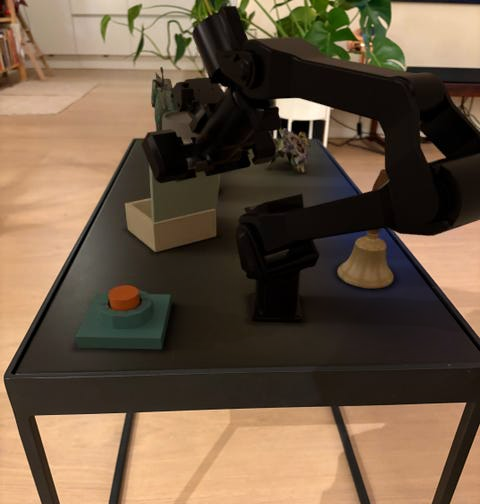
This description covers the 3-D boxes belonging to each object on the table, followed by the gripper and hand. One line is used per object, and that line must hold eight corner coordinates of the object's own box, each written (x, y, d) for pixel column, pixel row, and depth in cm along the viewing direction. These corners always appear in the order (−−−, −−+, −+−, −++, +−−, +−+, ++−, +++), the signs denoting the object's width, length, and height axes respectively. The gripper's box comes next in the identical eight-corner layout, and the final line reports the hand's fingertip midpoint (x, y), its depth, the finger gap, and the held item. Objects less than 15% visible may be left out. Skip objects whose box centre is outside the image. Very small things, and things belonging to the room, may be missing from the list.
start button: (137, 312, 62) (135, 300, 61) (107, 312, 62) (105, 299, 61) (142, 297, 65) (141, 285, 64) (113, 296, 65) (112, 284, 64)
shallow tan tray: (127, 229, 90) (124, 203, 87) (185, 216, 96) (184, 190, 93) (155, 252, 83) (153, 224, 80) (216, 236, 88) (216, 209, 86)
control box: (161, 349, 61) (160, 325, 59) (77, 348, 61) (73, 323, 59) (171, 305, 70) (170, 282, 68) (97, 303, 70) (94, 280, 68)
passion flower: (298, 195, 121) (309, 163, 110) (253, 184, 121) (260, 150, 110) (306, 157, 125) (318, 122, 114) (262, 146, 125) (270, 110, 114)
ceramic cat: (154, 148, 132) (148, 61, 121) (179, 148, 133) (175, 61, 122) (158, 173, 116) (151, 75, 105) (186, 172, 117) (183, 75, 106)
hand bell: (384, 262, 81) (404, 161, 72) (400, 289, 74) (424, 180, 66) (332, 262, 81) (346, 160, 72) (343, 289, 74) (359, 180, 65)
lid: (148, 147, 73) (164, 158, 70) (217, 136, 79) (235, 146, 76) (151, 220, 80) (167, 234, 77) (215, 206, 86) (231, 218, 82)
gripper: (271, 55, 69) (223, 120, 82) (143, 64, 60) (113, 135, 73) (302, 131, 68) (249, 184, 82) (177, 152, 59) (141, 207, 73)
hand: (191, 176), depth 77 cm, fingers closed on lid, 5 cm apart
